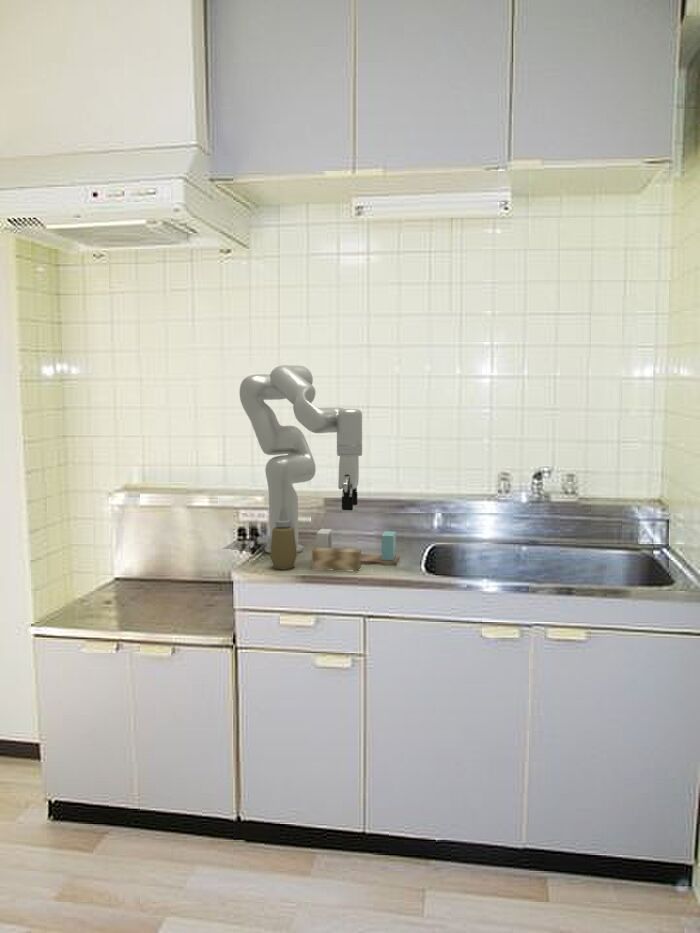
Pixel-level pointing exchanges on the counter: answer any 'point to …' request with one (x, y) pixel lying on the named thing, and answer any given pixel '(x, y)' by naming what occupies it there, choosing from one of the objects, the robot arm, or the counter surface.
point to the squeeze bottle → (283, 543)
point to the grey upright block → (324, 538)
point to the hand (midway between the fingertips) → (349, 507)
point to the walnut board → (377, 559)
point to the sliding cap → (388, 545)
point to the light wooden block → (336, 559)
